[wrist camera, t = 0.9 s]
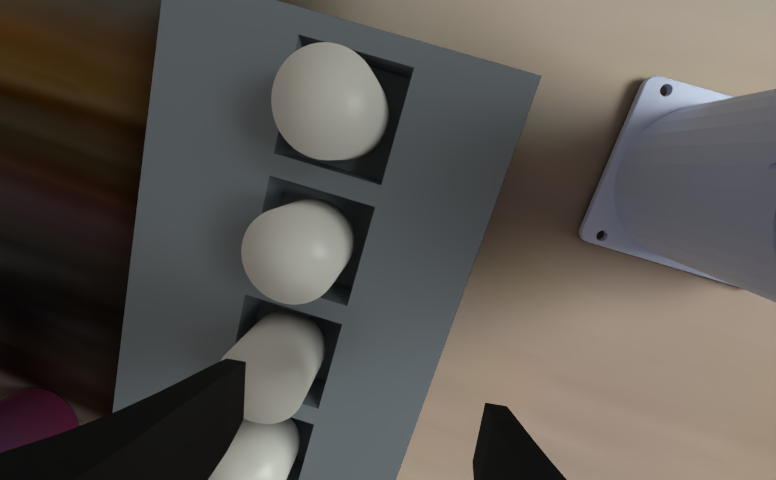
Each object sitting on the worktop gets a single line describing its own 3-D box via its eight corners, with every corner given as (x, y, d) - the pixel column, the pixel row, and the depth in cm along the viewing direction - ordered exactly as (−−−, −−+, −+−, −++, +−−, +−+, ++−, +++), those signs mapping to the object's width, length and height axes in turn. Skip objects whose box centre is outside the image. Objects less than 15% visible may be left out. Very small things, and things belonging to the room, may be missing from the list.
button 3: (333, 323, 19) (314, 358, 15) (316, 388, 20) (294, 435, 16) (260, 300, 19) (225, 330, 15) (245, 366, 20) (209, 408, 16)
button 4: (307, 418, 20) (284, 470, 17) (292, 475, 21) (267, 535, 18) (239, 396, 20) (202, 443, 17) (226, 454, 21) (190, 509, 18)
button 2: (364, 211, 17) (350, 224, 14) (343, 288, 18) (325, 316, 15) (284, 187, 17) (251, 194, 14) (267, 264, 18) (233, 287, 15)
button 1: (400, 80, 16) (394, 60, 12) (375, 170, 17) (363, 173, 13) (312, 55, 16) (283, 28, 13) (293, 146, 17) (261, 143, 14)
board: (521, 89, 17) (541, 75, 15) (380, 491, 23) (374, 538, 20) (207, -1, 18) (165, -32, 15) (146, 415, 24) (107, 451, 21)
